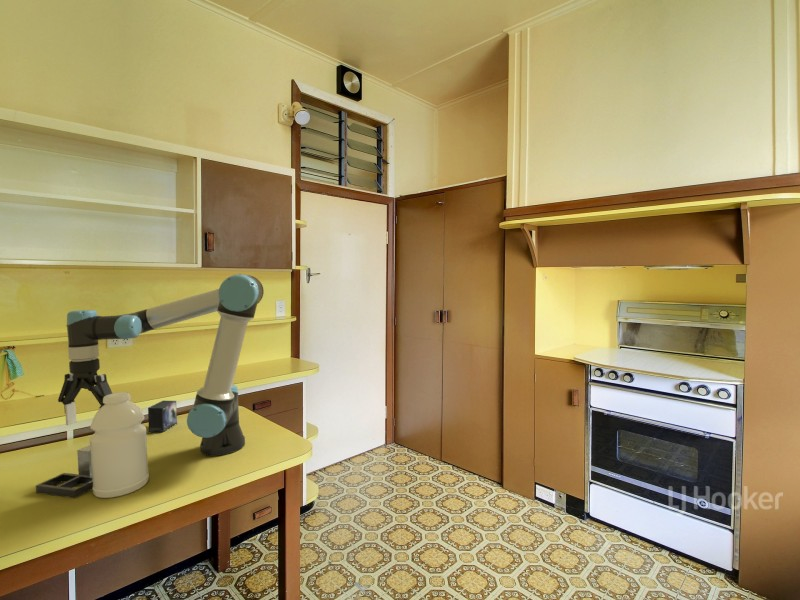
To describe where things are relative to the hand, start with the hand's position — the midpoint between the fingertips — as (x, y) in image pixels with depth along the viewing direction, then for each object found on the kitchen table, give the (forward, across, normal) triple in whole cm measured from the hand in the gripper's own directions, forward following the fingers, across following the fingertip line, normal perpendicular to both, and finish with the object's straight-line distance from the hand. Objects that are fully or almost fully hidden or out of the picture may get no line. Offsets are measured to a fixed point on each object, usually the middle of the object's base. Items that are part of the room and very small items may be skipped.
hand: (88, 425), depth 128 cm
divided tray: (+16, -2, +8) cm, 18 cm away
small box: (+16, +10, -40) cm, 44 cm away
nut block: (+16, 0, 0) cm, 16 cm away
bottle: (+16, -17, +4) cm, 24 cm away
